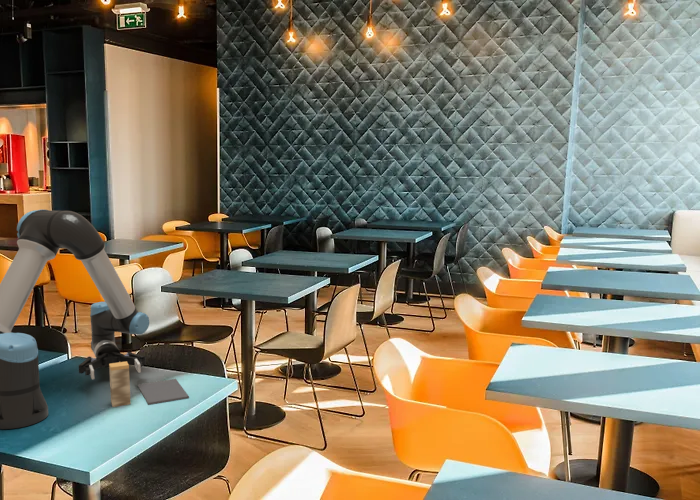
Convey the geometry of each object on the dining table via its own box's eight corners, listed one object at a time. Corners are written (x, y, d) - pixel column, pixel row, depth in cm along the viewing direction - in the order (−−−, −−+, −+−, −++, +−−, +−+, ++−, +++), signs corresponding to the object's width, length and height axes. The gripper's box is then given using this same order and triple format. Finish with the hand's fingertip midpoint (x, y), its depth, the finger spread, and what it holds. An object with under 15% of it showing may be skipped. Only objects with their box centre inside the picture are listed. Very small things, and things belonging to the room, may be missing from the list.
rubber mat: (148, 404, 188) (148, 402, 188) (137, 386, 203) (137, 384, 203) (188, 398, 193) (188, 396, 193) (175, 380, 209) (175, 378, 209)
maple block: (112, 407, 186) (110, 367, 184) (111, 402, 189) (109, 363, 188) (130, 404, 188) (128, 365, 187) (128, 399, 192) (126, 361, 190)
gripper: (145, 359, 221) (158, 377, 203) (67, 370, 210) (73, 389, 191) (145, 338, 220) (157, 354, 202) (66, 347, 209) (71, 365, 190)
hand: (116, 371), depth 196 cm, fingers open, 13 cm apart
